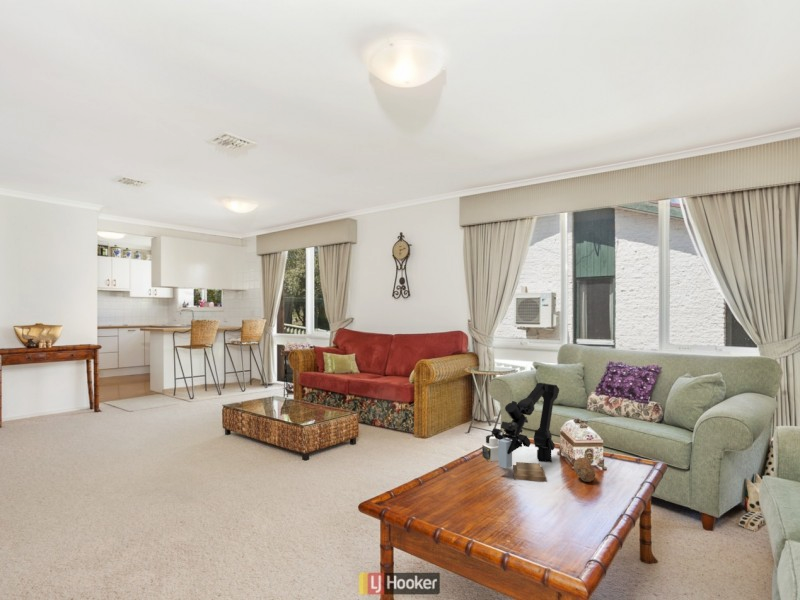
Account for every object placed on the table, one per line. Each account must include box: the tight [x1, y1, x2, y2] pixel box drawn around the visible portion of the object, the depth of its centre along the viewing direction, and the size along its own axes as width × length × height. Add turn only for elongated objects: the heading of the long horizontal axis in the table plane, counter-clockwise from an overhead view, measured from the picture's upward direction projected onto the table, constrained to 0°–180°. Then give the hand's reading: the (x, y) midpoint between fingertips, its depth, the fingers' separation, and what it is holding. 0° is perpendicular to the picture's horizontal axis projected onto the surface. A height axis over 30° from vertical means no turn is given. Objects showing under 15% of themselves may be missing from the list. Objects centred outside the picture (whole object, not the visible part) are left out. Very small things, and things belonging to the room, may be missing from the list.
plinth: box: [512, 461, 547, 483], centre depth 216 cm, size 14×14×4 cm
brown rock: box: [573, 456, 596, 483], centre depth 211 cm, size 10×13×10 cm
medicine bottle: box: [482, 434, 499, 463], centre depth 239 cm, size 7×7×12 cm
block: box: [497, 438, 513, 469], centre depth 215 cm, size 4×4×12 cm
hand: (503, 452), depth 214 cm, fingers closed on block, 4 cm apart
